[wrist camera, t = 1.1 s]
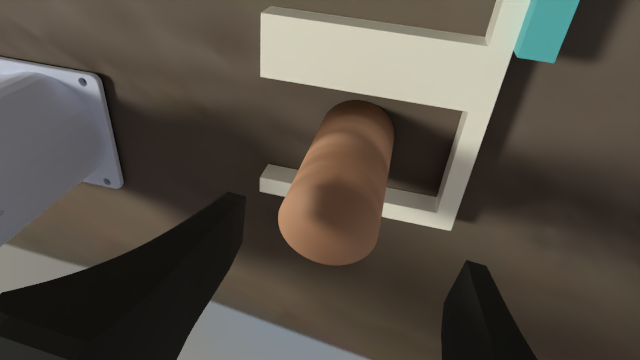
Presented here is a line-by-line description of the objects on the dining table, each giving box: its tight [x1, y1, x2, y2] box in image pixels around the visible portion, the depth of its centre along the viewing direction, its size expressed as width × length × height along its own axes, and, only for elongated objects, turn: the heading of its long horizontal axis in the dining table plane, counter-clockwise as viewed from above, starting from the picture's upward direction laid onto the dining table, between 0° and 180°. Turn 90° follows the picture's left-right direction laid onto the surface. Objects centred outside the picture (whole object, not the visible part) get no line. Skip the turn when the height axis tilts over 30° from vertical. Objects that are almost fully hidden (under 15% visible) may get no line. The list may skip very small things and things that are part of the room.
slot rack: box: [260, 0, 580, 231], centre depth 19 cm, size 12×17×2 cm
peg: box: [278, 100, 394, 265], centre depth 20 cm, size 4×4×8 cm
